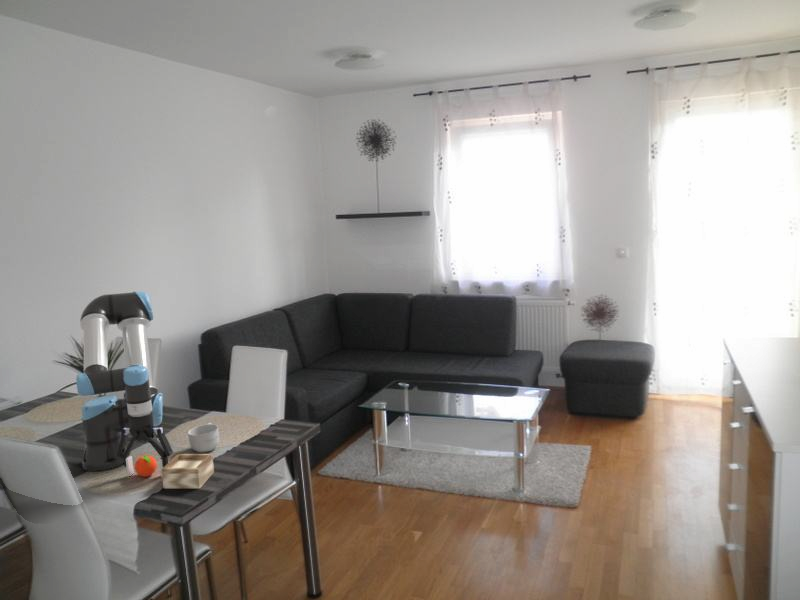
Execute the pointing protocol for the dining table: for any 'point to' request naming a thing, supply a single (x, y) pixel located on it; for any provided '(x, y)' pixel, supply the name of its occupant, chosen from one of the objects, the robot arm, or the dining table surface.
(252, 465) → the dining table surface
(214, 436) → the teacup
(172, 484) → the wooden box
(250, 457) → the dining table surface
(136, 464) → the tomato
